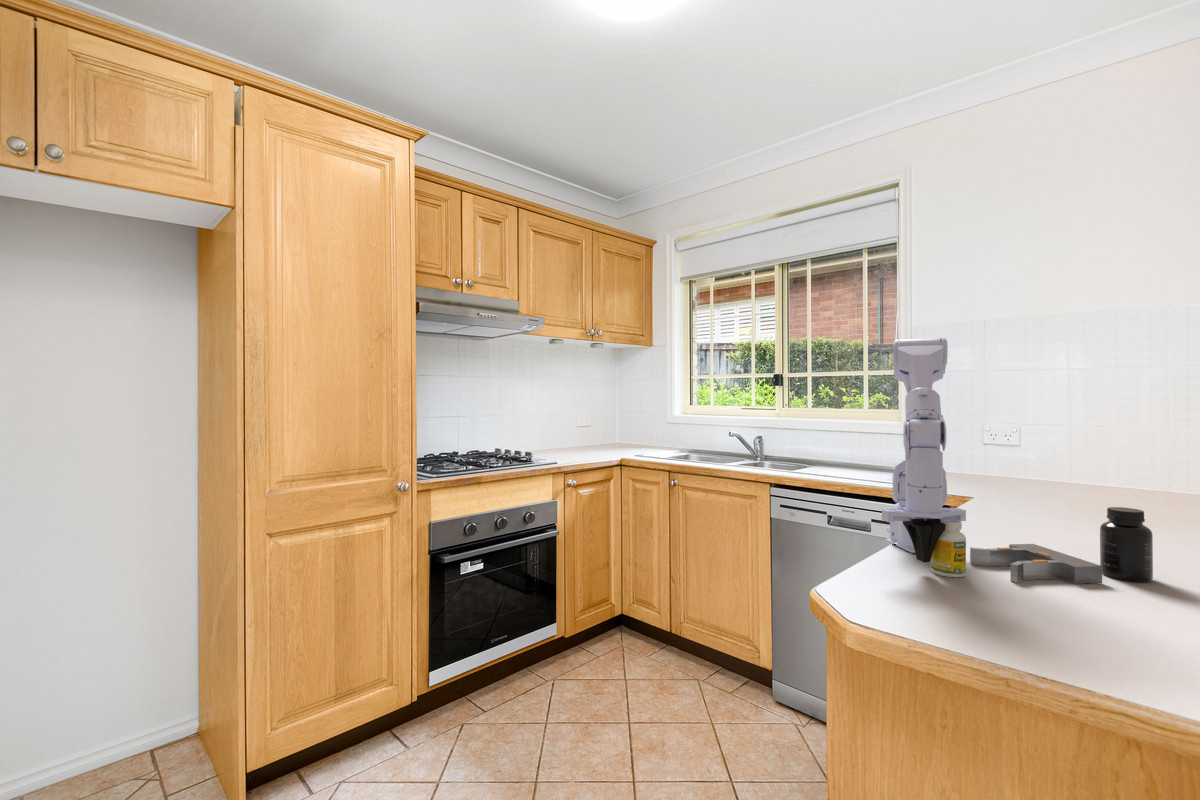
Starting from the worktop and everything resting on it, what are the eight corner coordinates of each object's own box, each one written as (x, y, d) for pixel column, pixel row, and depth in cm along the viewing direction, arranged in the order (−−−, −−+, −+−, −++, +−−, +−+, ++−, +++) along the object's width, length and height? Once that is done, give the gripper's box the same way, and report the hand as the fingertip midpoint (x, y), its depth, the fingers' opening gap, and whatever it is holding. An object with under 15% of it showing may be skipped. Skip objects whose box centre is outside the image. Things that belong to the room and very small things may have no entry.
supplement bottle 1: (939, 567, 104) (940, 516, 104) (971, 574, 100) (971, 521, 100) (925, 572, 101) (925, 519, 101) (957, 580, 97) (957, 525, 97)
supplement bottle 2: (1130, 571, 102) (1131, 505, 101) (1164, 584, 95) (1165, 514, 95) (1089, 570, 102) (1090, 505, 102) (1120, 582, 96) (1121, 513, 95)
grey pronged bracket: (962, 560, 108) (962, 544, 108) (1033, 559, 109) (1033, 542, 109) (1021, 585, 94) (1021, 566, 94) (1102, 583, 95) (1102, 564, 95)
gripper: (898, 489, 96) (897, 568, 96) (978, 488, 97) (978, 566, 97) (875, 483, 103) (875, 556, 103) (950, 482, 104) (950, 554, 104)
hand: (923, 560), depth 100 cm, fingers closed
